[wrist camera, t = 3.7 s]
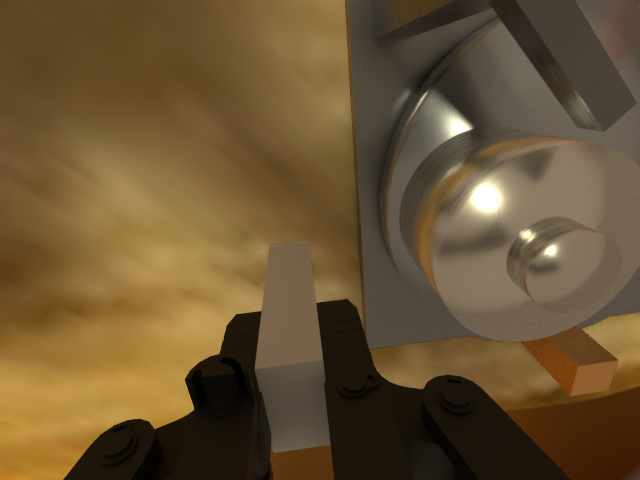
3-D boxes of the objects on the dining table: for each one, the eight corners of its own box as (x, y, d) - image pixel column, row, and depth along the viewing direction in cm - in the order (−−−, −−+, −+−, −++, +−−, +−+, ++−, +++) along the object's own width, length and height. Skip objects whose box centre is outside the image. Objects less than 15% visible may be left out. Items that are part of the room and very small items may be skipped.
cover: (399, 288, 19) (451, 382, 13) (398, 135, 16) (467, 169, 10) (543, 269, 19) (656, 352, 13) (572, 115, 16) (740, 136, 10)
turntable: (373, 13, 15) (421, -25, 10) (763, -27, 16) (1007, -82, 11) (383, 338, 23) (413, 419, 17) (648, 302, 24) (757, 368, 18)
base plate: (364, 339, 24) (367, 349, 23) (344, -6, 16) (348, -11, 15) (640, 301, 25) (654, 309, 24) (758, -47, 17) (785, -54, 16)
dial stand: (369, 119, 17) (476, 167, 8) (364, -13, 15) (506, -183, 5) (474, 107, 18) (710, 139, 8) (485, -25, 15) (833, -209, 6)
